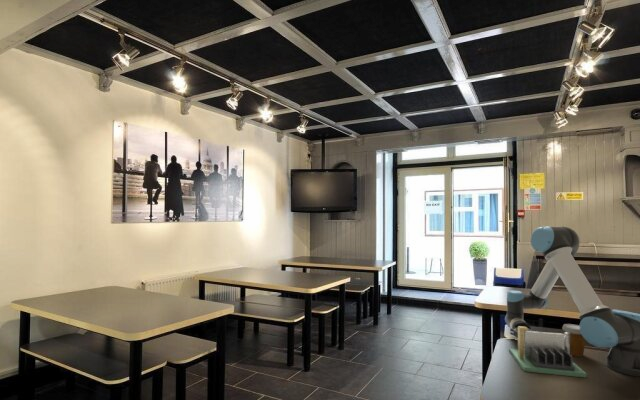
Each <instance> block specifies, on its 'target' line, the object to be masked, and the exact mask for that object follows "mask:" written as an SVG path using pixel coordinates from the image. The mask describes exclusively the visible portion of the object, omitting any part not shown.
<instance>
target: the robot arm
mask: <svg viewBox="0 0 640 400" xmlns="http://www.w3.org/2000/svg"><path fill="white" fill-rule="evenodd" d="M580 243H581V242H580V237H579V235H578V234H577V232H576V231H575V230H574V229H572V228H570V227H567V226H548V225H547V226H546V225H545V226H540V227H537V228H535V229H534V231H533V232H532V233H531V237H530V245H531V247H532V249H533V250H534V251H536V252H537V253H541V254H542V256H543V257H544V260H546V261H547V262H546V263H545V264H544V266H543V269H542V270H541V271H540V273H539V276H538V277H537V278H536V281H535V282H534V284H533V286H532V287H531V289H530V290H529V293H527V294H525V293H524V292H523V291H522V290H521V291H520V290H512V289H511V290H508V291H507V294H506V295H507V296H506V315H505V317H504V322H505V324H506V325H507V327H508V328H510V329H509V330H510V331H509V333H510V335H512V336H514V337H516V338H517V339H518V326H523V327H527V328H528V331H535V330H534V329H532V328H531V326H530V325H529V324H528V323H527V322H526V321H525V320H524V310H537V309H538V310H540V309H544V308H546V307H547V306H548V295H549V294H550V292H551V291H552V289H553V287H554V285H555V284H556V282H557V280H558V279H559V277H560V280H561V281H562V283H563V284H564V286H565V288H566V289H567V291H568V294H569V295H570V296H571V299H572V301H574V303H575V305H576V306H577V308H578V310H579V312H580V313H579V315H578V319H579V320H580V323H579V326H580V327H579V328H580V332H581V334H582V336H583V337H584V339H585V342H587V343H589V344H590V345H592V346H594V347H596V348H604V349H605V348H606V349H607V348H609V351H608V353H607V357H606V358H605V359H606V360H605V366H607V367H608V368H609V369H610V370H613V371H616V372H619V373H622V374H626V375H629V376H634V377H640V313H636V312H630V311H626V310H620V309H611V308H610V307H609V306H607V305H604V304H603V302H602V301H601V300H600V298H599V296H598V295H597V293H596V292H595V290H594V288H593V286H592V285H591V283H590V282H589V280H588V279H587V277H586V276H585V274H584V273H583V271H582V269H581V267H580V266H579V265H578V262H577V261H576V260H575V257H576V255H577V252H578V251H579V247H580ZM535 332H541V331H540V330H537V331H535Z"/></svg>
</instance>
